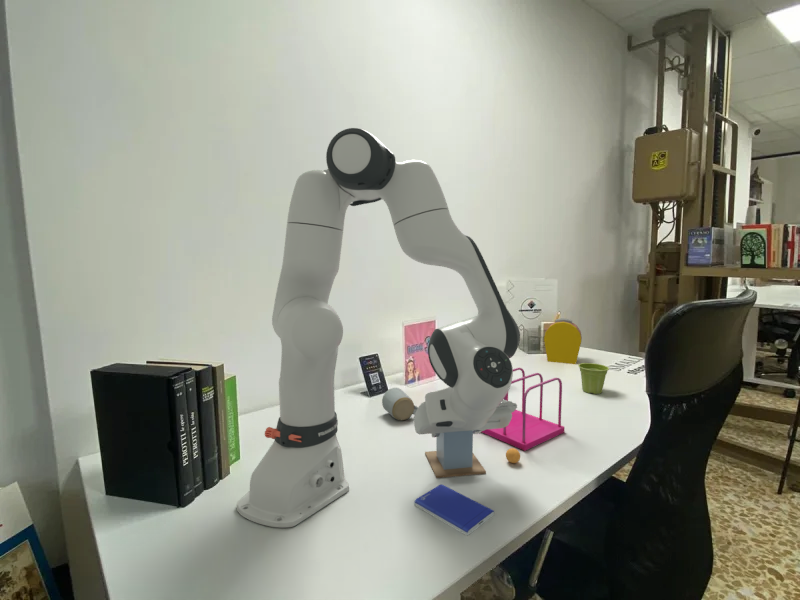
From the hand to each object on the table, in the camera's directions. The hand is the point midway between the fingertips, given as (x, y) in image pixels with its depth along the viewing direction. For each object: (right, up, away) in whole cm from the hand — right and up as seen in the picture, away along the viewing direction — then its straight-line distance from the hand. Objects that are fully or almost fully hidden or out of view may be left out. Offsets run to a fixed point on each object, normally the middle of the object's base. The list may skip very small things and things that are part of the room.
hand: (455, 432), depth 94 cm
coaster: (0, -8, +2) cm, 8 cm away
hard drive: (-2, -10, -15) cm, 19 cm away
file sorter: (+17, -6, +22) cm, 29 cm away
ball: (+13, -6, +2) cm, 15 cm away
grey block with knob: (0, -7, +2) cm, 7 cm away
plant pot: (+53, -2, +50) cm, 73 cm away
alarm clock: (+59, +3, +91) cm, 108 cm away
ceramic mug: (-11, -5, +30) cm, 33 cm away
